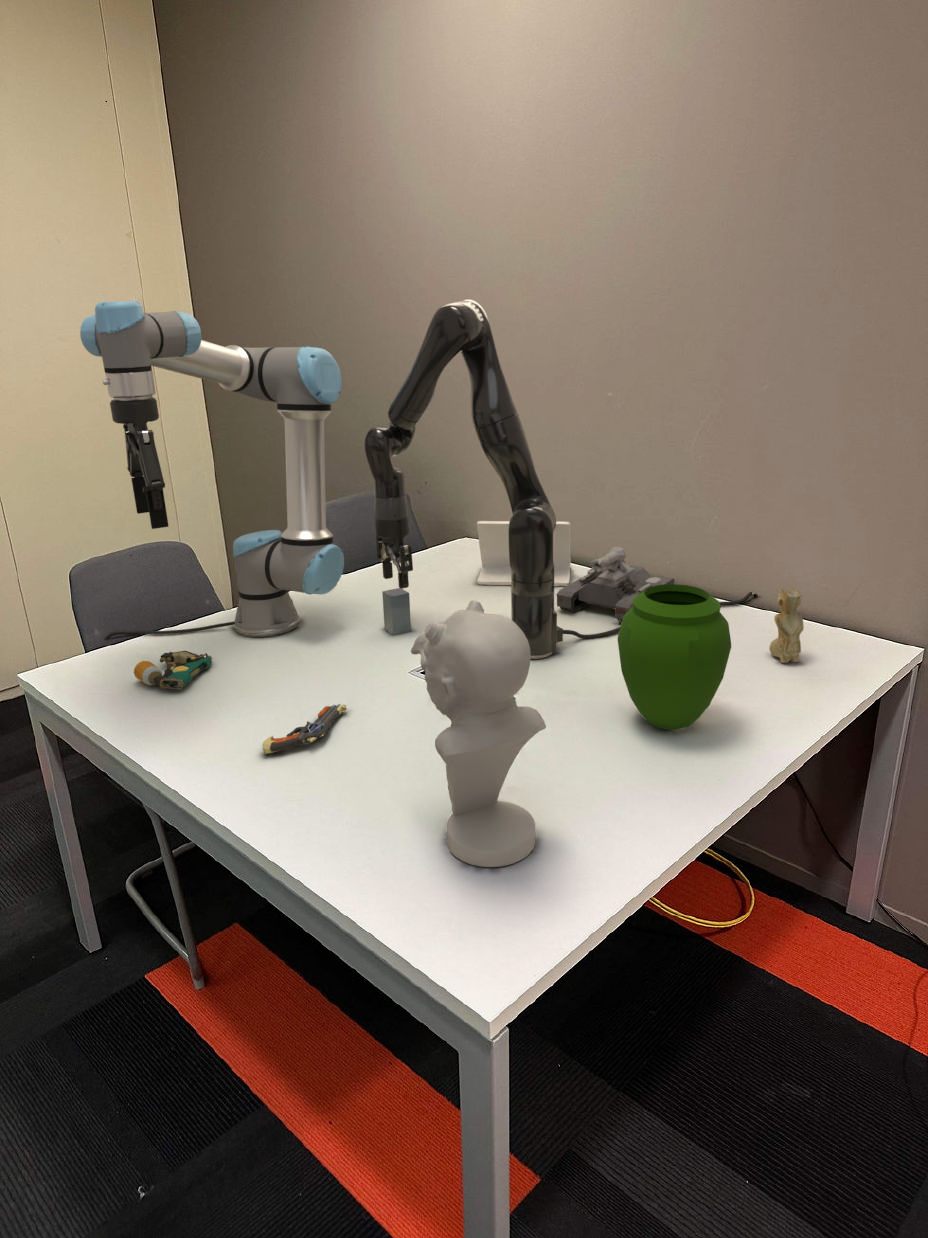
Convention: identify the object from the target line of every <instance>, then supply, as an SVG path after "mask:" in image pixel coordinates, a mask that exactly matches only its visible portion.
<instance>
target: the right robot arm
mask: <svg viewBox="0 0 928 1238" xmlns="http://www.w3.org/2000/svg"><path fill="white" fill-rule="evenodd" d="M459 353H461V356H462V358H463V361H464V363H465V367H466V369H467V372H468V376H469V382H470V413H471V420H472V424H473V428H474V430H475V433H476V436H477V439H478V441H479V444H480V446H481V449H482V451H483V453H484V456H485V457H486V458H487V461H488V462H489V463H490V465H491V466H492V467H493V469H494V471H495V472H496V474H497V475H498V477H499V479H500V480H501V482H502V484H503V486H504V489H505V492H506V494H507V498H508V501H509V504H510V505H509V506H510V508H511V513H512V516H511V517H510V520H509V521H510V522H509V564H510V568H511V585H510V588H511V589H510V597H511V599H510V603H511V604H510V606H511V607H510V609H511V610H510V615H511V617H510V619H511V620H512V621H513V622H514V623H515V624H516V625H517V626H518V627H519V628H520V629H521V630H522V632H523V633H524V634H525V636H526V638H527V640H528V643H529V646H530V652H531V653H530V655H531V656H530V660H540V659H545V658H548V657H550V656H552V655H557V654H558V653H557V650H558V649H557V648H558V647H557V645H558V644H559V643H562V642H564V635H571V636H575V637H576V638H579V639H584V640H590V639H596V638H597V639H598V638H599V639H600V638H602V637H603V638H604V637H607V636H610V635H614V634H617V633H619V631H620V627H621V625H620V626H619V627H616V628H613V629H611V630H607V631H603V632H598V633H592V634H585V633H584V634H583V633H579V632H578V631H575V630H572V629H571V630H570V629H564V628H562V627H560V626H558V613H557V612H556V611H555V586H554V563H553V532H554V530H555V527H556V522H557V516H556V513H555V510H554V508H553V506H552V503H551V502H550V500H549V498H548V496H547V494H546V492H545V490H544V488H543V485H542V483H541V481H540V479H539V476H538V474H537V472H536V468H535V464H534V461H533V460H534V459H533V456H532V453H531V450H530V446H529V443H528V439H527V436H526V434H525V430H524V427H523V424H522V421H521V418H520V415H519V413H518V410H517V408H516V405H515V403H514V401H513V398H512V394H511V392H510V389H509V386H508V382H507V380H506V376H505V375H504V372H503V369H502V366H501V363H500V360H499V356H498V351H497V347H496V342H495V339H494V335H493V331H492V327H491V323H490V320H489V317H488V314H487V313H486V311H485V309H484V308H483V307H482V305H481V304H479V302H477V301H475V300H474V299H471V298H470V299H468V298H464V299H460V300H456V301H453V302H449V303H445V304H443V305H442V306H440V307H438V309H437V310H436V311H435V312H434V314H433V316H432V318H431V320H430V322H429V324H428V327H427V330H426V332H425V335H424V337H423V340H422V343H421V345H420V347H419V350H418V352H417V355H416V357H415V359H414V361H413V363H412V366H411V368H410V370H409V372H408V373H407V375H406V377H405V378H404V380H403V382H402V384H401V385H400V387H399V389H398V390H397V392H396V394H395V396H394V397H393V399H392V400H391V402H390V403H389V406H388V408H387V412H386V414H387V418H388V420H389V423H388V424H383V425H378V426H373V427H371V428H369V429H368V430H367V431H366V433H365V434H364V438H363V445H362V446H363V452H364V455H365V458H366V462H367V463H368V464H367V465H368V467H369V470H370V473H371V476H372V479H373V493H374V502H373V509H374V511H373V512H374V523H375V539H376V540H375V541H376V556H377V559H378V560H380V563H381V565H382V575H383V576H382V577H383V579H384V580H389V579H392V578H393V577H394V573H393V565H394V566H395V567H396V570H397V581H398V588H401V589H403V590H404V589H407V588H409V586H410V584H409V583H410V582H409V572H412V571H413V570H414V564H413V552H412V551H413V550H412V546H411V544H405V541H404V538H406V537H407V536H408V535H409V534H410V524H409V509H408V508H409V507H408V500H407V491H406V477H405V472H404V471H403V469H402V468H399V467H395V466H394V465H393V463H392V459H391V458H393V457H398V456H400V455H402V454H404V453H405V452H406V451H407V450H408V449H409V447H410V446H411V445H412V442H413V439H414V436H415V432H416V430H417V426H418V424H419V422H420V421H421V419H422V417H423V416H424V414H425V413H426V412H427V410H428V408H429V407H430V405H431V403H432V400H433V398H434V396H435V393H436V389H437V385H438V382H439V379H440V377H441V376H442V373H443V371H444V370H445V368H446V367H447V366H448V364H449V363H450V362H451V361H453V359H454V358H455V357H456V356H458V354H459ZM752 596H753V598H758V597H759V595H758V594H757V593H756V594H754V595H752V592H751V591H749V592H748V593H747V594H746V595H745V596H743V597H742V598H741V599H737V600H730V601H719V603H720V607H721V606H734V605H740V604H743V603H744V602H746V601H748V600H749V598H750V597H752Z"/></svg>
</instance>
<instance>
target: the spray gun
mask: <svg viewBox="0 0 928 1238" xmlns="http://www.w3.org/2000/svg"><path fill="white" fill-rule="evenodd" d="M212 660H213V657H212V656H211V655H208V653H207V652H205V653H201V654H197V653H194V652H192V651H191V652H190V651H188V650H180V651H169V652H164V653H162V654H161V655H160V658H159V660H158V662H159V663H161V664H163V663H165V664H166V668H165V670H163V672H164V674H163V673H162V669H160V668H159V666H157V665H156V664H154V663H152V662H151V661H149V660H141V661H139V662H138V663H136V665H135V666H134V668H133V675H134V677H135V678H136V679H137V680H139V681H140V682H142V683H143V684H145V685H147V686H155V685H157V686H158V687H160V688H161V689H171V690H172V689H173V690H182V689H184V687H185V686H186V685H188V684H189V683H190V682H191V681H192V679H193V678H195V677H196V676H197V675H198V674H200V673H201V672H202V671H203V670H206V669H208V668H209V667H210V666H211V665H212V662H213V661H212ZM178 663H179V664H181V665H179V666H176V665H177V664H178Z"/></svg>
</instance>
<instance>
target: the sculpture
mask: <svg viewBox="0 0 928 1238" xmlns="http://www.w3.org/2000/svg"><path fill="white" fill-rule="evenodd" d="M777 592H778V595H777V606H778V609H779V611H780V612H779V613H777V614H775V615H774V617H773V618H774V623H775V625H776V627H777V633H778V636H777V637H776V638H775V639H773V640H772V641H771V642H770V643H769V648H768V649H769V652H770V654H771V655H772V656H773V657H776V658H777V657H778V658H779V659H780V660H779V661H780V663H784V664H785V663H789V662H792V663H795V662H799V659H800V653H801V651H802V646H801V645H802V643H801V639H800V638H801V637H800V636H801V634H802V633H803V631H804V629H805V627H804V618H803V615H802V614H801V613H800V612H798V609H799V607H800V606H801V604H802V600H801V597H802V596H803V594H802V593H801V592H800V591H799V590H797V589H795V588H793V587H789V588H787V589H786V588H785V589H784V588H778V589H777Z"/></svg>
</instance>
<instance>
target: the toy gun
mask: <svg viewBox="0 0 928 1238" xmlns="http://www.w3.org/2000/svg"><path fill="white" fill-rule="evenodd" d="M347 709H348V708H347V704H340V703H338V704H337V705H336V704H332V705H326V706H324V707H323V708H322V709H321V710H320V711H319V712H318V714H317V719H315V721H312V722H310V721H306V724H305V726H298V727H295V728H294V729H293V730H291V732H289V733H287V734H286V736H284V737H278V738H274V736H273V735H270V736H268V737H267V738H266V739H265V740H263V742H262V751H263V754H265V755H267V754H272V753H278V752H281V751H284V750H287V749H291V748H295V747H298V746H300V745H304V744H308V743H310V744H311V743H313V742H315V741H316V740H318V739H319V738H322V737H323V736H324V735H325V734H326V733H327V732H328V730H329V729H330V727H331V725H332V724H333V722H334V721H335V720H336V719H337V718H338V717H339V716H341V714H342V713H343V712H346V711H347Z"/></svg>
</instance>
